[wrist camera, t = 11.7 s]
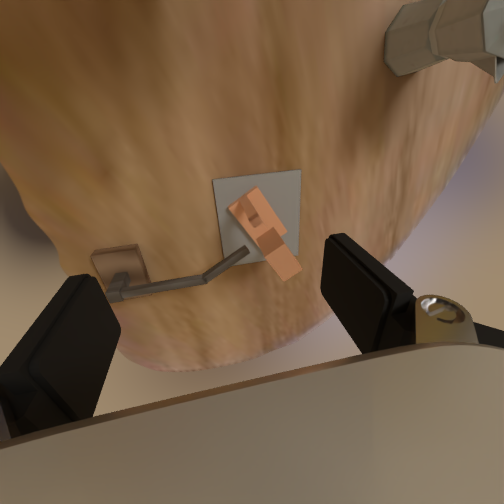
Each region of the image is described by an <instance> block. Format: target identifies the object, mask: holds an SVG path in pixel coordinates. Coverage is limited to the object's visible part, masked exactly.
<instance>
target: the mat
mask: <svg viewBox="0 0 504 504" xmlns="http://www.w3.org/2000/svg"><path fill="white" fill-rule="evenodd" d="M213 186H214V193H215V199H216V206H217V213H218V220H219V227H220V233H221V240H222V247H223V254H224V259H225V258H226V257H228V256H229V255H231V254H232V253H233V252H235V251H236V250H238V249H239V248H241V247H242V246H243V245H246V247H247V248H248V249H249V251H250V254H248V255H247V256H245V257H244V258H242V259H241V260H239V261H238V262H237V263H235V264H234V265H232V266H235V265H241V264H247V263H253V262H259V261H265V260H266V259H265V257H264V255H263V253H262V251H261V249H260V248H259V246H258V245H257V244H256V243H255V241H254V240H253V239H252V238H251V236H250V235H249V234H248V233H247V231H246V230H245V229H244V227H243V226H242V225H241V224H240V222H239V221H238V220H237V219H236V217H235V216H234V215H233V214H232V212H231V211H230V210H229V208H228V206H229V205H230V204H231V203H233V202H234V201H236V200H237V199H238V198H240V197H241V196H242V195H244V194H245V193H246V192H248V191H249V190H250V189H252V188H253V187H254V186H257V187H258V188H259V190H260V191H261V193H262V194H263V196H264V197H265V199H266V200H267V202H268V203H269V205H270V206H271V208H272V209H273V211H274V212H275V214H276V215H277V217H278V218H279V220H280V221H281V223H282V224H283V226H284V227H285V229H286V230H287V233H285V234H284V235H282V236H281V238H282V239H283V241H284V242H285V244H286V245H287V247H288V248H289V249H290V251H291V252H292V254H293V255H294V256H296V255H298V243H299V217H300V190H301V169H299V170H291V171H282V172H273V173H265V174H256V175H247V176H238V177H230V178H221V179H213Z"/></svg>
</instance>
